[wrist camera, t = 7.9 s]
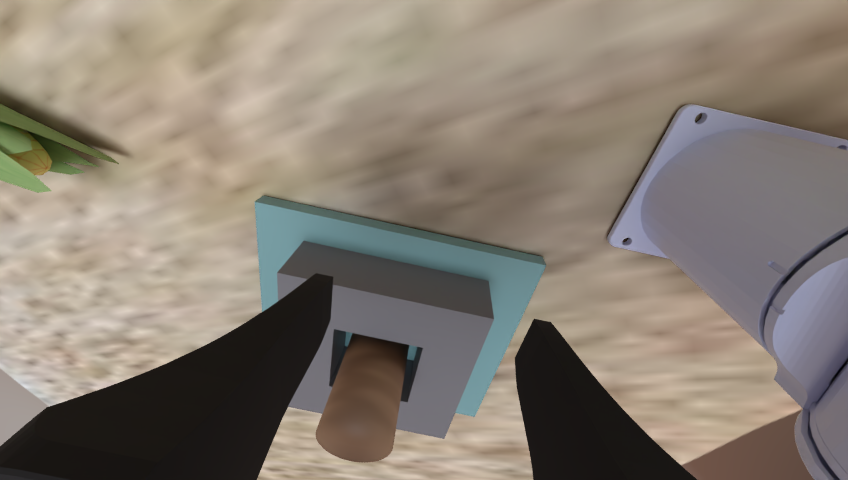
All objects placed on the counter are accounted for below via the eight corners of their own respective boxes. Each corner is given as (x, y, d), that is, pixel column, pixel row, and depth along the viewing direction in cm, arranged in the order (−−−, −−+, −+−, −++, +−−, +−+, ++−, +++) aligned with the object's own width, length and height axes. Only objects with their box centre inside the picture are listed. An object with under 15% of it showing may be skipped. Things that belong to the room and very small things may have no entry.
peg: (410, 307, 22) (389, 420, 15) (412, 348, 24) (395, 465, 17) (353, 305, 23) (308, 415, 16) (360, 345, 25) (323, 459, 18)
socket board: (542, 256, 21) (562, 303, 17) (474, 405, 29) (476, 460, 25) (263, 195, 20) (217, 228, 16) (272, 363, 28) (242, 412, 24)
